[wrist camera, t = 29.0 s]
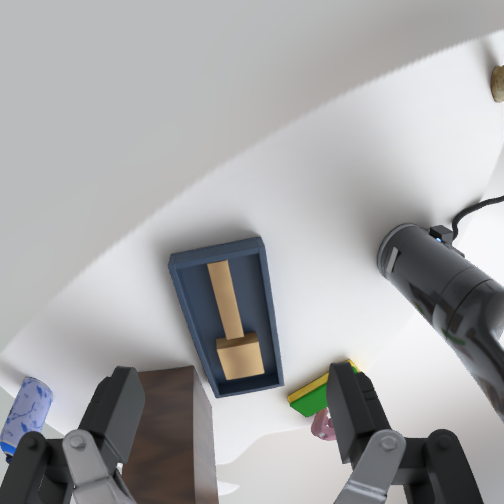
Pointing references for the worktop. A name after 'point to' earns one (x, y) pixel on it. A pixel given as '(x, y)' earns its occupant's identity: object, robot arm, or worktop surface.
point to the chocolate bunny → (498, 83)
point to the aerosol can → (25, 414)
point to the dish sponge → (312, 396)
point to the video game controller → (323, 426)
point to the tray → (249, 304)
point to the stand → (173, 442)
